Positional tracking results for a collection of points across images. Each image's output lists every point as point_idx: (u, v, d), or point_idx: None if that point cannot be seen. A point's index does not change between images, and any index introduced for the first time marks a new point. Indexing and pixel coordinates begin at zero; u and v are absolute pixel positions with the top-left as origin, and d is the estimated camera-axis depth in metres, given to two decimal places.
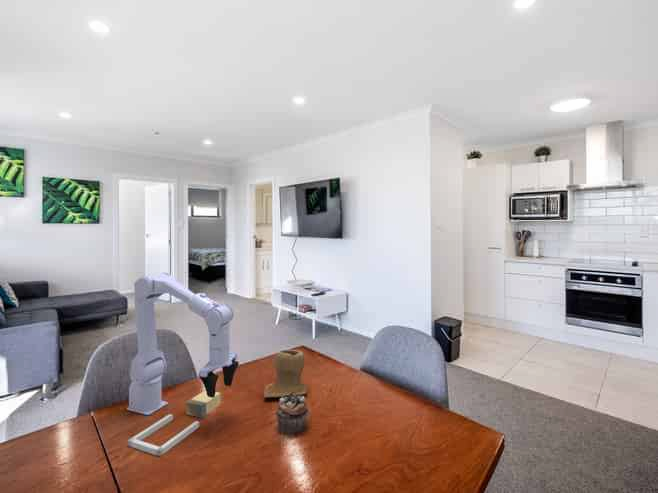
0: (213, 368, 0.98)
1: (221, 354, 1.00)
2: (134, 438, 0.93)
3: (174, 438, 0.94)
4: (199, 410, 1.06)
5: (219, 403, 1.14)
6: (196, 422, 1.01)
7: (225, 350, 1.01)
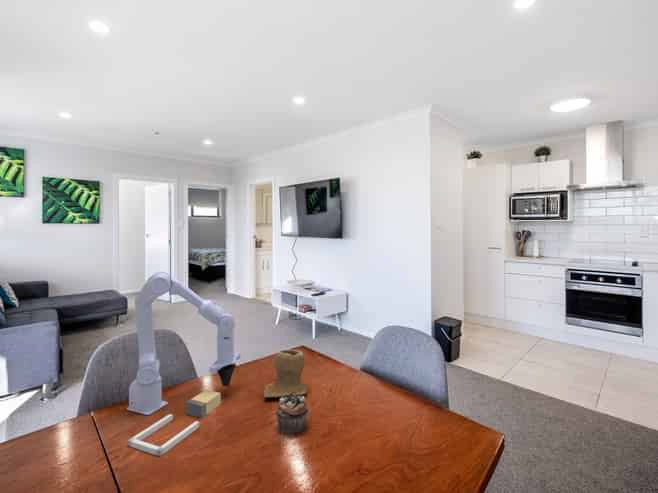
0: (220, 366, 1.16)
1: (227, 354, 1.18)
2: (134, 438, 0.93)
3: (174, 438, 0.94)
4: (199, 410, 1.06)
5: (219, 403, 1.14)
6: (196, 422, 1.01)
7: (230, 351, 1.19)
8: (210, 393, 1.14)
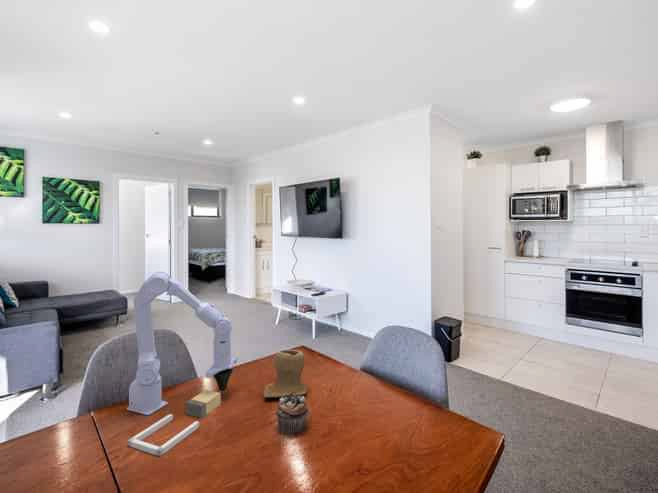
0: (217, 370, 1.15)
1: (224, 358, 1.17)
2: (134, 438, 0.93)
3: (174, 438, 0.94)
4: (199, 410, 1.06)
5: (219, 403, 1.14)
6: (196, 422, 1.01)
7: (227, 355, 1.18)
8: (210, 393, 1.14)
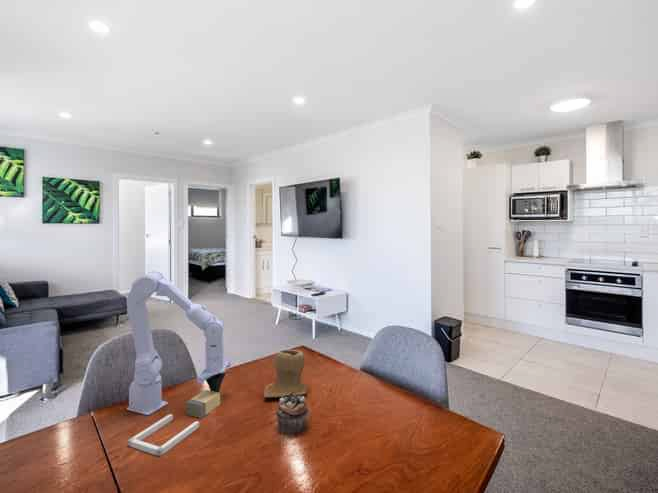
0: (209, 375, 1.11)
1: (216, 362, 1.13)
2: (134, 438, 0.93)
3: (174, 438, 0.94)
4: (199, 410, 1.06)
5: (219, 403, 1.14)
6: (196, 422, 1.01)
7: (219, 359, 1.14)
8: (210, 393, 1.14)
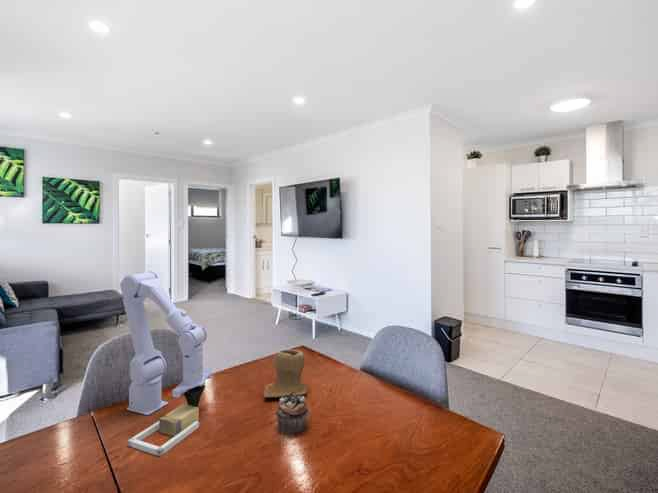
0: (186, 388, 1.02)
1: (194, 374, 1.04)
2: (134, 438, 0.93)
3: (174, 438, 0.94)
4: (173, 428, 0.97)
5: (197, 419, 1.04)
6: (196, 422, 1.01)
7: (198, 370, 1.05)
8: (187, 408, 1.04)
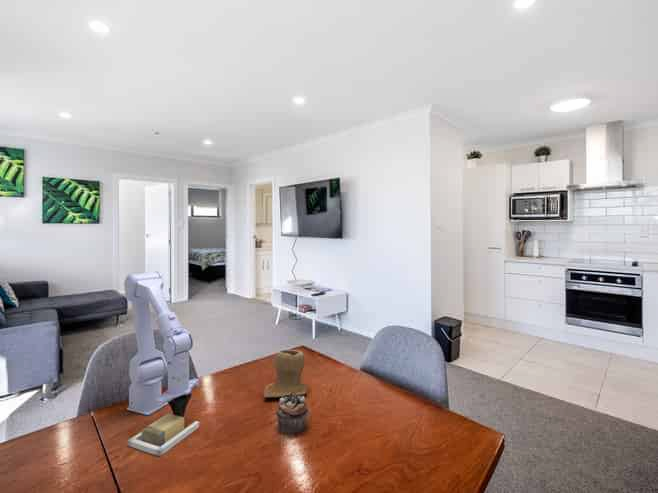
0: (170, 397, 0.96)
1: (179, 382, 0.98)
2: (134, 438, 0.93)
3: (174, 438, 0.94)
4: (156, 440, 0.91)
5: (182, 429, 0.99)
6: (196, 422, 1.01)
7: (183, 378, 0.99)
8: (172, 418, 0.99)
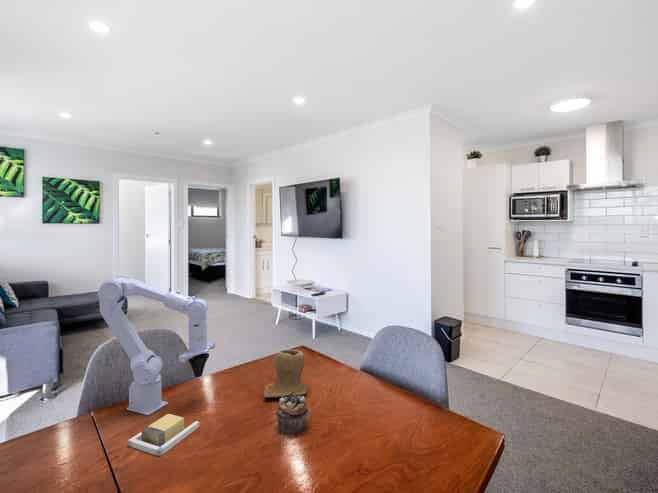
0: (191, 355, 1.09)
1: (199, 342, 1.11)
2: (134, 438, 0.93)
3: (174, 438, 0.94)
4: (156, 440, 0.91)
5: (182, 430, 0.99)
6: (196, 422, 1.01)
7: (202, 339, 1.12)
8: (172, 418, 0.99)
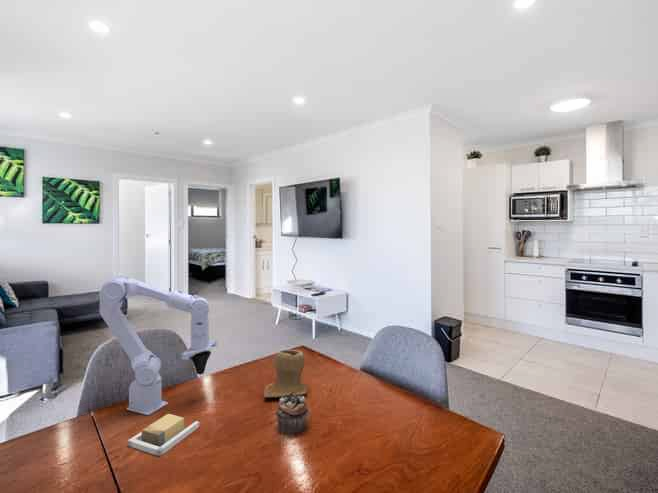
0: (193, 352, 1.11)
1: (201, 340, 1.13)
2: (134, 438, 0.93)
3: (174, 438, 0.94)
4: (156, 440, 0.91)
5: (182, 430, 0.99)
6: (196, 422, 1.01)
7: (204, 337, 1.14)
8: (172, 418, 0.99)
